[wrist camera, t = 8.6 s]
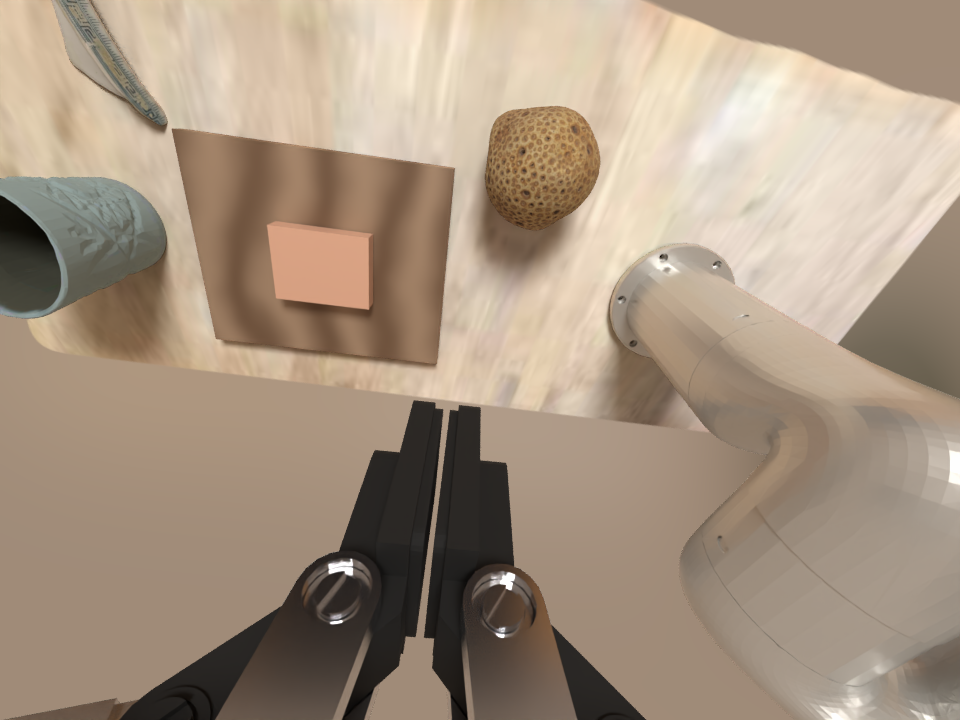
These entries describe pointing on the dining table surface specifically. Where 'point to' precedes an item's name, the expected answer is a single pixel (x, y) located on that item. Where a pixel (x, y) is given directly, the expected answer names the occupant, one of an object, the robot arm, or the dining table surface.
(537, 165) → the natural sponge
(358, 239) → the tile
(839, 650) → the robot arm
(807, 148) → the dining table surface
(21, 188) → the grey green cup
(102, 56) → the ceramic fragment
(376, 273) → the board
